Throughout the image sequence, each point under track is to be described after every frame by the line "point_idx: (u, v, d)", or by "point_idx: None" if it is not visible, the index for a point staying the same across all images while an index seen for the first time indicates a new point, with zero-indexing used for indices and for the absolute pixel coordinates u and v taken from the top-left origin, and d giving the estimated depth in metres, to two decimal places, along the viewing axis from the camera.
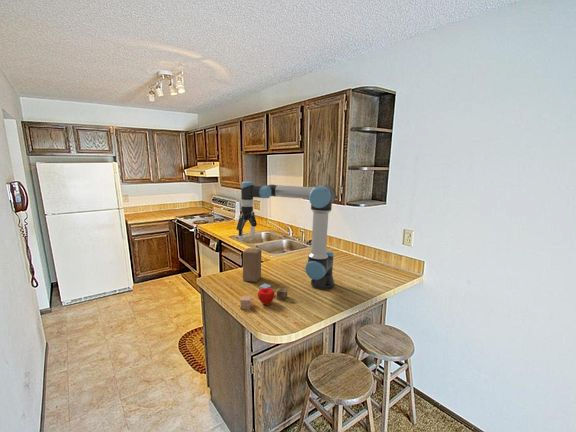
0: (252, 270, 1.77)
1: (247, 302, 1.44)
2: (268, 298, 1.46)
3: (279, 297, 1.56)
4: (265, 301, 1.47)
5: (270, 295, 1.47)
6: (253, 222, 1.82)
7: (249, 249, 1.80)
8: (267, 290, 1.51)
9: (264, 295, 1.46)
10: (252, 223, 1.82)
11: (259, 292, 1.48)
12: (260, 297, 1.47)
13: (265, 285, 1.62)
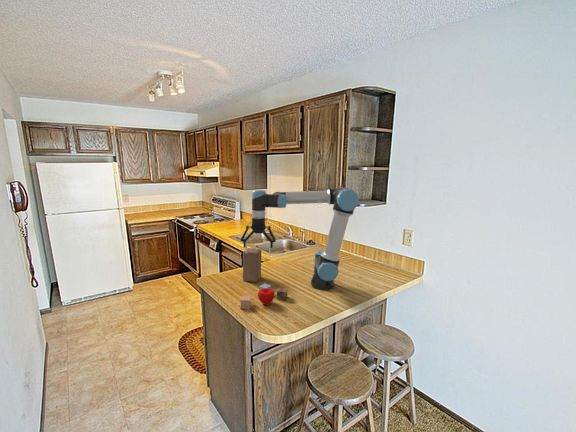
0: (252, 270, 1.77)
1: (247, 302, 1.44)
2: (268, 298, 1.46)
3: (279, 297, 1.56)
4: (265, 301, 1.47)
5: (270, 295, 1.47)
6: (268, 238, 1.57)
7: (249, 249, 1.80)
8: (267, 290, 1.51)
9: (264, 295, 1.46)
10: None
11: (259, 292, 1.48)
12: (260, 297, 1.47)
13: (265, 285, 1.62)
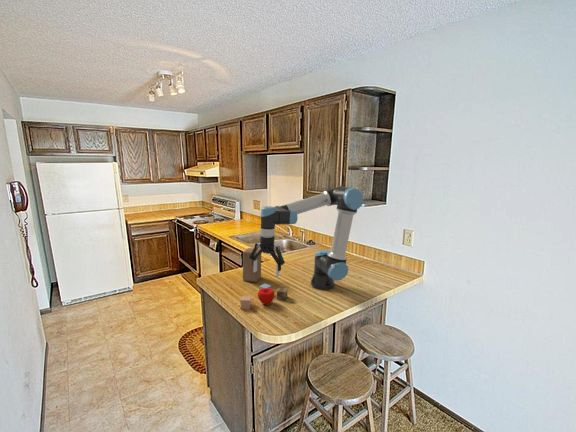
0: (252, 270, 1.77)
1: (247, 302, 1.44)
2: (268, 298, 1.46)
3: (279, 297, 1.56)
4: (265, 301, 1.47)
5: (270, 295, 1.47)
6: (275, 259, 1.43)
7: (249, 249, 1.80)
8: (267, 290, 1.51)
9: (264, 295, 1.46)
10: None
11: (259, 292, 1.48)
12: (260, 297, 1.47)
13: (265, 285, 1.62)
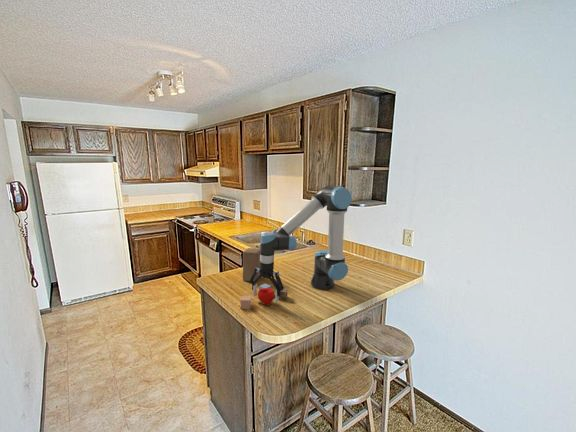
0: (252, 270, 1.77)
1: (246, 302, 1.44)
2: (268, 298, 1.46)
3: (279, 297, 1.56)
4: (265, 301, 1.47)
5: (270, 295, 1.47)
6: (274, 285, 1.46)
7: (249, 249, 1.80)
8: (267, 290, 1.51)
9: (264, 295, 1.46)
10: (274, 285, 1.46)
11: (259, 292, 1.48)
12: (260, 297, 1.47)
13: (265, 285, 1.62)
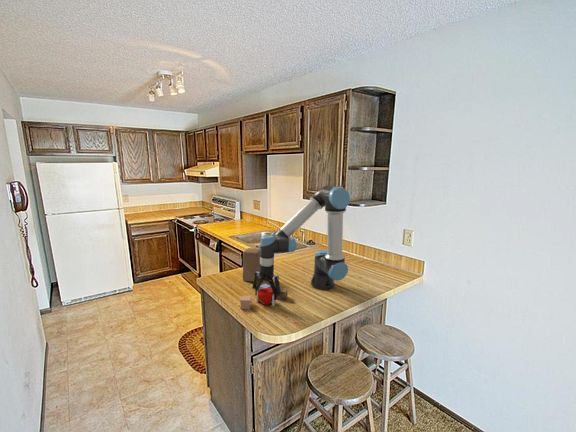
0: (252, 270, 1.77)
1: (247, 302, 1.44)
2: (268, 298, 1.46)
3: (279, 297, 1.56)
4: (265, 301, 1.47)
5: (270, 295, 1.47)
6: (272, 288, 1.47)
7: (249, 249, 1.80)
8: (267, 290, 1.51)
9: (264, 295, 1.46)
10: None
11: (259, 292, 1.48)
12: (260, 297, 1.47)
13: (265, 285, 1.62)
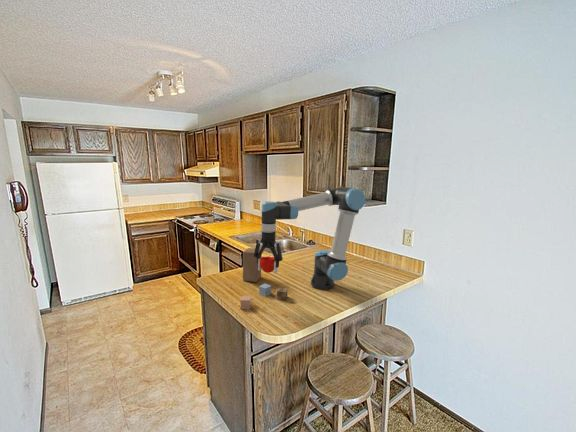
0: (252, 270, 1.77)
1: (246, 302, 1.44)
2: (270, 265, 1.44)
3: (279, 297, 1.56)
4: (267, 268, 1.45)
5: (272, 262, 1.44)
6: (274, 255, 1.44)
7: (249, 249, 1.80)
8: (269, 258, 1.49)
9: (266, 262, 1.44)
10: (274, 256, 1.45)
11: (261, 259, 1.46)
12: (262, 264, 1.45)
13: (265, 285, 1.62)
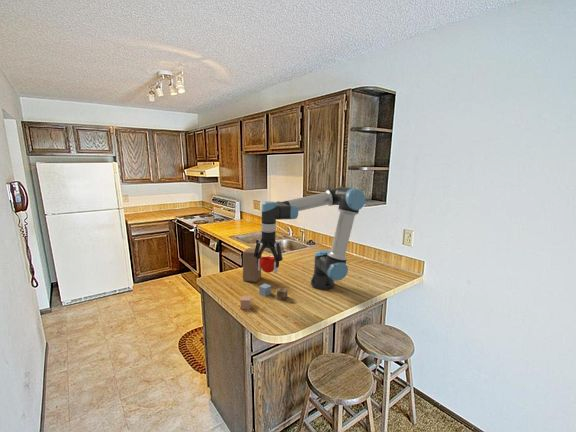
0: (252, 270, 1.77)
1: (247, 302, 1.44)
2: (270, 265, 1.44)
3: (279, 297, 1.56)
4: (267, 268, 1.45)
5: (272, 262, 1.44)
6: (274, 255, 1.44)
7: (249, 249, 1.80)
8: (269, 258, 1.49)
9: (266, 262, 1.44)
10: (274, 256, 1.45)
11: (261, 259, 1.46)
12: (262, 264, 1.45)
13: (265, 285, 1.62)
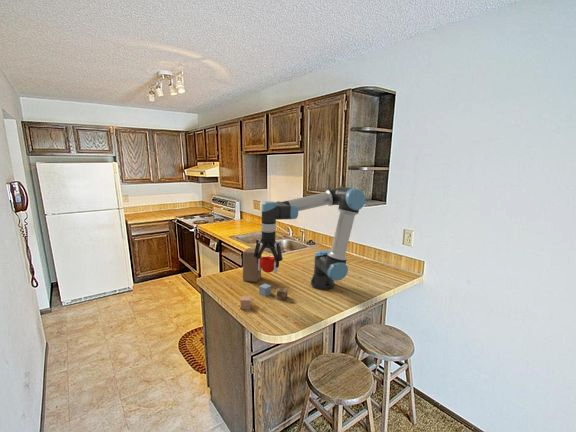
0: (252, 270, 1.77)
1: (246, 302, 1.44)
2: (270, 265, 1.44)
3: (279, 297, 1.56)
4: (267, 268, 1.45)
5: (272, 262, 1.44)
6: (274, 255, 1.44)
7: (249, 249, 1.80)
8: (269, 258, 1.49)
9: (266, 262, 1.44)
10: (274, 256, 1.45)
11: (261, 259, 1.46)
12: (262, 264, 1.45)
13: (265, 285, 1.62)
